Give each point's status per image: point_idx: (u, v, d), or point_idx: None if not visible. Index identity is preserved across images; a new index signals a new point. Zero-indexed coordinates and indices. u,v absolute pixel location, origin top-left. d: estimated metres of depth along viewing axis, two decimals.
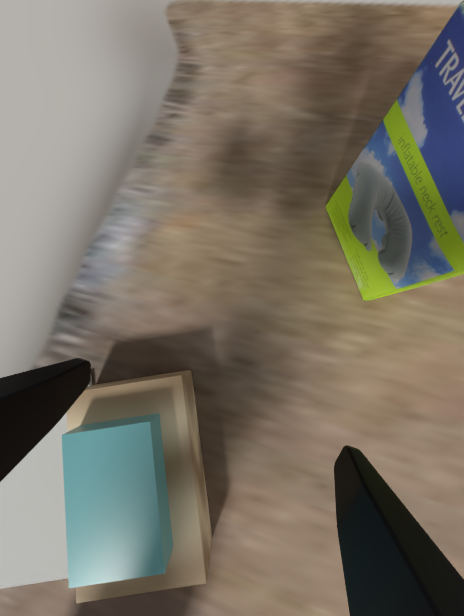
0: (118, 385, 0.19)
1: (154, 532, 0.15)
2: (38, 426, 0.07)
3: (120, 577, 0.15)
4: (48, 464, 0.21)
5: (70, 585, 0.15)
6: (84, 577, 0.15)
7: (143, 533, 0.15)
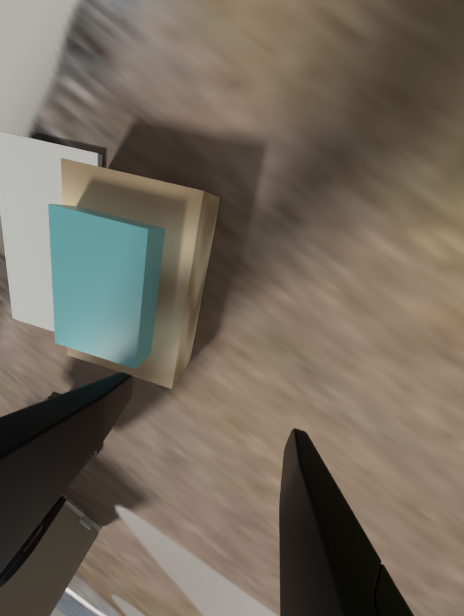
0: (123, 173, 0.14)
1: (132, 336, 0.15)
2: (89, 445, 0.07)
3: (97, 354, 0.16)
4: None
5: (56, 341, 0.17)
6: (68, 341, 0.16)
7: (122, 332, 0.15)
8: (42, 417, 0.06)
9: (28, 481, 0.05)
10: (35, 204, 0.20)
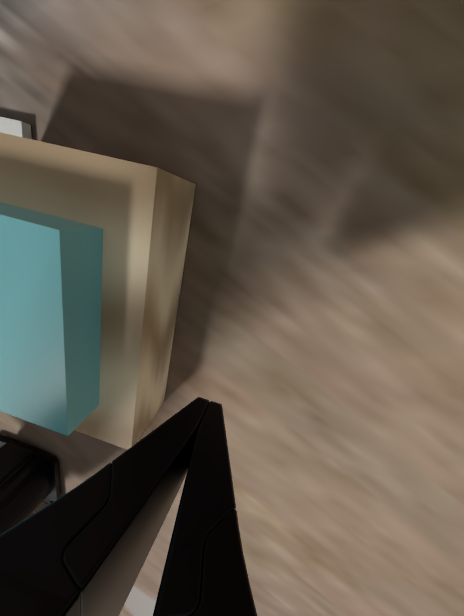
0: (34, 141, 0.09)
1: (57, 392, 0.10)
2: (180, 478, 0.07)
3: (13, 413, 0.11)
4: None
5: None
6: None
7: (42, 386, 0.10)
8: (153, 457, 0.05)
9: (145, 527, 0.05)
10: None
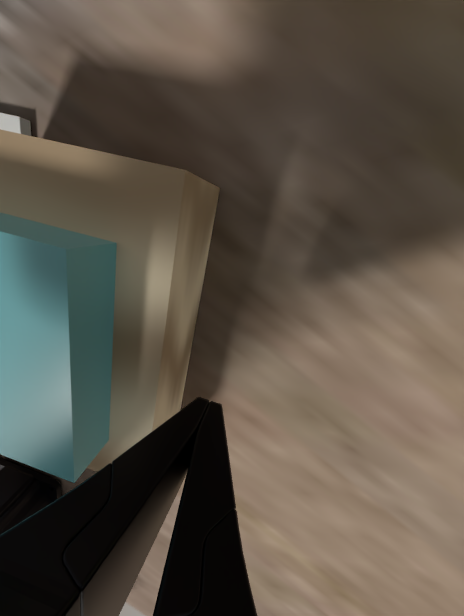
0: (34, 139, 0.07)
1: (62, 435, 0.09)
2: (180, 478, 0.07)
3: (11, 456, 0.10)
4: None
5: None
6: None
7: (45, 428, 0.09)
8: (153, 457, 0.05)
9: (145, 527, 0.05)
10: None
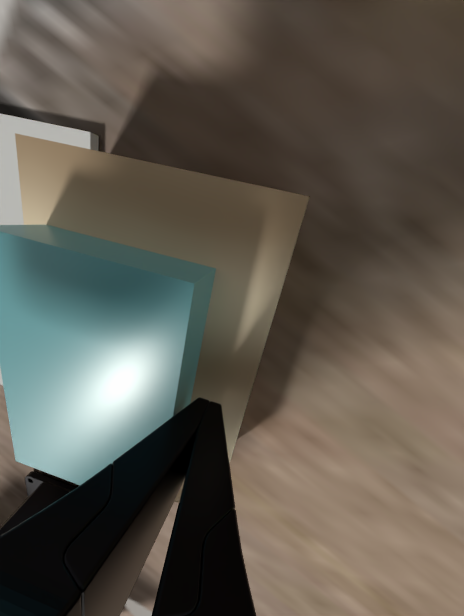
0: (139, 162, 0.07)
1: None
2: (181, 478, 0.07)
3: None
4: None
5: (17, 459, 0.10)
6: (37, 461, 0.09)
7: None
8: (153, 457, 0.05)
9: (146, 528, 0.05)
10: None
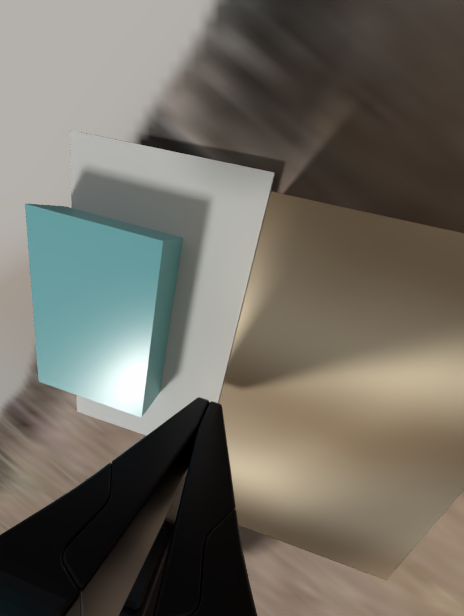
0: (424, 227, 0.06)
1: None
2: (180, 478, 0.07)
3: None
4: None
5: None
6: None
7: None
8: (153, 457, 0.05)
9: (145, 527, 0.05)
10: None
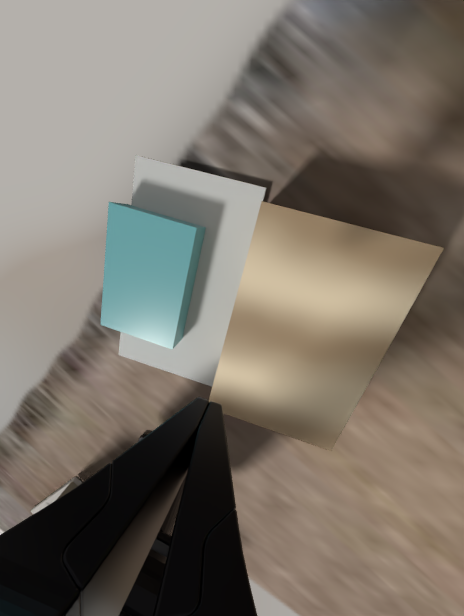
0: (339, 222, 0.12)
1: None
2: (180, 478, 0.07)
3: None
4: None
5: (181, 336, 0.20)
6: None
7: None
8: (153, 457, 0.05)
9: (145, 527, 0.05)
10: None
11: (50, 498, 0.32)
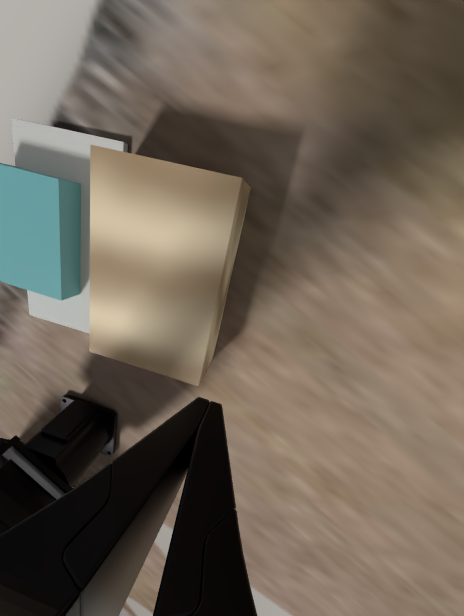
0: (156, 160, 0.14)
1: None
2: (180, 478, 0.07)
3: None
4: None
5: (79, 292, 0.22)
6: None
7: None
8: (153, 457, 0.05)
9: (145, 528, 0.05)
10: None
11: None
